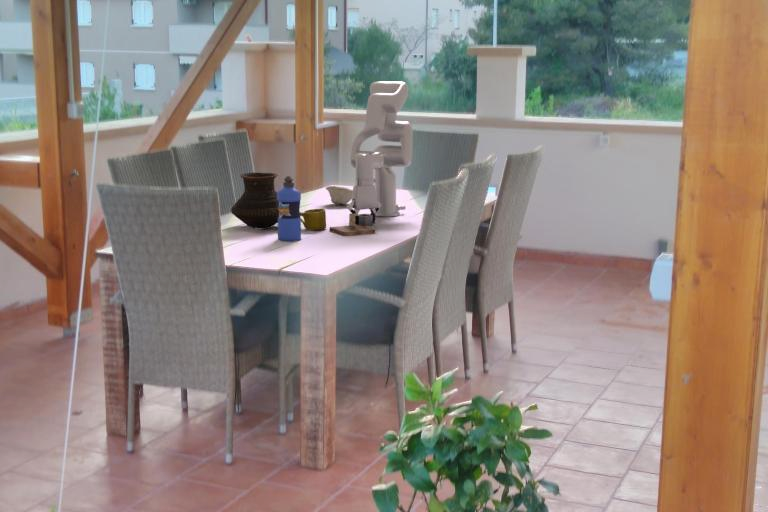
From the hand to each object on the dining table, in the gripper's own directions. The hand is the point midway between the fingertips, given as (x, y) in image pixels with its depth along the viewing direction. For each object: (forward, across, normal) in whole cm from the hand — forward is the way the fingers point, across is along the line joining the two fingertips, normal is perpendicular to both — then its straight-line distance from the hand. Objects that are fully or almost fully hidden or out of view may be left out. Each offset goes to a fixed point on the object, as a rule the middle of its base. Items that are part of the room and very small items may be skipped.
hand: (364, 223), depth 446 cm
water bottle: (+1, +42, +16) cm, 45 cm away
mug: (+1, +24, -2) cm, 24 cm away
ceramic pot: (+1, +41, -16) cm, 44 cm away
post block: (+1, +12, +12) cm, 17 cm away
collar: (+1, 0, 0) cm, 1 cm away
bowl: (+1, -18, -58) cm, 61 cm away
